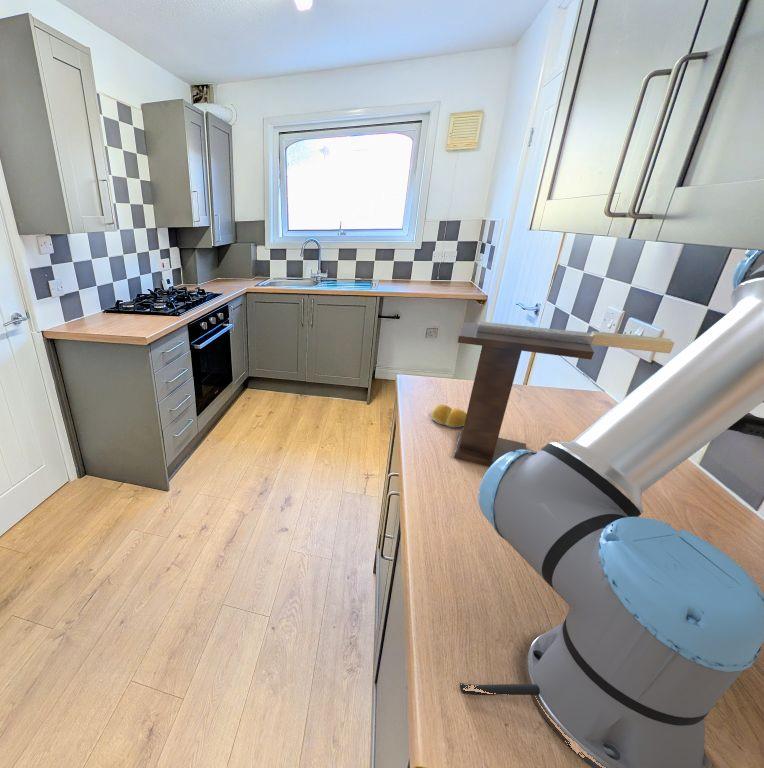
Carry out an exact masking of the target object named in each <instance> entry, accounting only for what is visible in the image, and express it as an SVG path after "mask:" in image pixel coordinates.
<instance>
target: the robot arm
mask: <svg viewBox="0 0 764 768" xmlns="http://www.w3.org/2000/svg"><path fill="white" fill-rule="evenodd" d="M744 255H745V258H744V259H743V260H741V261H739V262H738V263H737V265H736V268H735V270H734V273H733V277H732V287H733V290H732V291H731V294H730V302H731V305H732V309H731V310H730V311H729V312H728V313H726V314H724V316H723V317H721V318H720V319H719V320H718V321H717V322H715V323H714V324H713V325H711V326H710V327H709V328H708V329H707V330H706V331H704V332H703V333H702V334H701V335H699V336H698V337H697V338H696V339H695V340H693V341H692V342H691V343H690V344H688V345H687V346H686V347H685V348H684V349H682V350H681V351H680V352H679V353H678V354H676V355H675V356H674V357H673V358H672V359H670V360H669V361H668V362H666V364H664V365H663V366H662V367H660V368H659V369H658V370H657V371H656V372H654V373H653V374H652V375H651V376H650V377H648V378H647V379H646V380H645V381H643V382H642V383H640V385H638V387H636V388H634V390H632V391H631V392H630V393H629V394H628V395H626V396H625V397H624V398H623V399H622V400H620V401H619V402H617V404H615V405H614V406H613V407H612V408H611V409H609V410H608V411H607V412H605V413H604V414H603V415H602V416H601V417H600V418H598V419H597V420H596V421H595V422H593V424H591V425H590V426H589V427H587V429H585V430H584V431H583V432H581V433H580V434H579V435H578V436H577V437H575V438H574V439H573V440H571V441H550V442H549V443H547V444H546V445H545V446H543V447H542V448H541V449H540V450H538V451H537V452H536V451H534V450H529V449H527V450H525V449H521V450H516V452H509V453H507V454H505V455H503V456H501V457H500V458H499V459H497V460H496V461H495V462H494V463H493V464H492V465H491V466H490V467H488V469H487V470H486V471H485V473H484V475H483V477H482V478H481V480H480V484H479V487H478V491H479V493H478V496H477V498H478V499H477V500H478V506H479V510H480V511H481V514H482V515H483V516H484V518H485V519H486V520H487V521H488V522H489V523H490V525H491V526H492V527H493V528H494V531H495V532H496V533H497V535H498V536H500V538H502V539H503V540H504V541H506V542H507V543H508V544H509V545H510V546H511V548H512V549H514V550H515V551H516V553H518V555H519V556H520V557H522V559H523V560H524V561H525V562H526V563H527V564H528V565H529V566H530V567H531V568H532V569H533V570H534V571H535V572H536V573H537V574H538V575H539V576H540V577H541V578H542V580H544V582H546V583H547V585H549V586H550V587H551V588H552V589H553V590H554V592H555V593H556V594H557V595H558V596H559V597H560V598H561V599H562V600H563V601H564V602H565V603H566V605H567V606H568V607H569V609H568V611H567V614H566V617H565V618H564V621H563V622H561V623H560V624H558V625H556V626H555V627H553V628H551V629H549V630H547V631H546V632H544V633H542V634H541V635H539V636H538V637H537V638H536V639H534V640H533V641H532V643H531V645H530V648H529V650H528V652H527V655H526V657H525V660H524V677H525V678H524V679H525V682H526V683H501V684H500V683H499V684H497V683H496V684H471V683H467V684H468V685H469V686H471V685H474V687H475V685H476V687H475V688H474V689H476V688H477V689H479V690H480V689H481V690H483V691H484V692H485V691H486V692H489V693H493V694H487V693H481V692H475V691H465V690H463V688H465V687H466V686H467V687H466V688H467V689H468V685H464V684H465V683H462V682H460V683H459V689H460V692H461V694H463V695H469V696H470V695H471V696H495V695H494V693H496V694H507V695H506V696H531V698H532V700H533V703H534V705H536V708H537V709H538V711H539V713H540V715H541V716H542V718H543V719H544V720H545V721H546V723H547V724H548V726H549V727H550V728H551V729H552V731H553V732H554V733H555V734H556V735H557V736H558V737H559V738H560V740H561V741H562V742H563V743H564V744H565V745H567V744H568V745H569V744H570V742H569V741H568V740H567V739H566V738H565V737H564V736H563V735H562V733H561V732H560V731H559V730H558V729H557V728H556V727H555V725H554V724H553V723H552V722H551V721H550V719H549V718H548V717H547V715H546V714H545V712H546V713H547V714H548V715H549V717H550V718H551V719H552V720H553V721H554V722H555V723H556V724H557V726H558V727H560V729H561V730H562V731H563V732H564V734H565V735H567V736H568V737H569V738H571V739H572V740H573V741H575V742H576V743H577V744H578V745H579V746H580V747H581V748H582V749H583V750H584V751H586V752H587V754H588V755H590V756H591V757H593V759H595V760H596V762H598V763H600V764H601V765H602V766H604V767H606V768H711V767H712V766H713V763H712V762H711V760H710V758H708V756H707V755H706V749H705V733H706V732H705V729H706V728H705V718H706V716H707V715H708V714H709V713H710V712H711V711H712V709H713V708H714V707H715V706H716V705H717V703H718V702H719V701H720V700H721V699H722V697H723V696H724V695H725V694H726V692H727V691H728V690H729V689H730V688H731V687H732V685H733V684H734V683H735V682H736V680H738V678H739V677H740V675H742V673H743V672H744V670H747V669H749V668H750V667H752V666H753V665H754V662H756V661H757V660H758V659H759V657H758V656H759V654H761V651H762V646H763V644H764V592H763V590H762V589H761V588H760V586H759V585H758V583H757V582H756V581H755V579H753V577H752V576H751V575H750V574H749V573H748V572H747V571H746V570H745V569H744V568H743V567H742V565H739V564H738V563H737V562H736V561H735V560H734V559H732V558H731V557H730V556H729V555H727V554H726V553H725V552H724V551H722V550H721V549H719V548H718V547H716V546H714V545H713V544H712V543H710V542H708V541H707V540H705V539H703V538H701V537H700V536H697V535H696V534H694V533H692V532H690V531H688V530H685V529H680V530H677V529H675V528H674V527H673V526H672V525H671V524H670V523H668V522H665V521H662V520H657V519H654V518H649V517H642V516H641V515H642V514H643V513H644V507H643V502H642V496H643V493H644V492H646V491H647V490H648V489H649V488H650V487H652V486H654V485H655V484H656V483H658V482H659V481H660V480H661V479H662V478H664V477H666V476H667V475H668V474H669V473H670V472H673V470H675V469H676V468H677V467H678V466H680V465H682V464H683V463H684V462H685V461H687V460H688V459H689V458H691V457H692V456H693V455H695V454H696V453H697V452H698V451H700V450H701V449H703V448H704V447H705V446H707V445H708V444H710V442H712V441H713V440H715V439H716V438H718V436H720V435H721V434H723V432H725V431H726V430H727V431H732V432H738V433H741V434H744V435H749V436H754V437H759V438H762V439H763V440H764V417H760V416H756V415H755V416H754V415H749V413H750V412H752V411H754V409H755V408H757V407H758V406H759V405H761V404H762V403H764V251H758V250H748V249H747V250H746V251H745V253H744ZM461 684H462V685H461ZM477 685H478V686H477ZM466 688H465V689H466ZM469 688H470V687H469ZM508 694H509V695H508ZM535 696H536V697H535ZM536 698H537V699H536ZM537 700H538V701H539V703H540V705H541V706H542V707H543V709H544V710H545V712H544V711H543V709H542V708H541V706H540V705H539V703H538V701H537ZM565 741H566V742H567V743H566V742H565ZM568 742H569V743H568ZM568 745H567V746H568ZM570 745H571V744H570ZM570 745H569V746H570ZM569 746H568V747H569ZM570 747H571V746H570ZM570 747H569V748H570ZM579 753H580V752H579ZM579 753H578V754H579ZM581 753H582V752H581ZM581 753H580V754H581ZM582 754H583V753H582ZM582 754H581V755H582ZM583 755H584V754H583ZM584 756H585V755H584ZM582 760H583V761H584V762H586V763H587V764H588V765H590V766H591V767H592V768H602V767H600V766H599V765H597V764H596V763H595V762H593V761H592V760H591V759H589V758H588V757H586V756H585V757H584V758H583V759H582Z"/></svg>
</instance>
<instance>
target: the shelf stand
mask: <svg viewBox="0 0 764 768" xmlns="http://www.w3.org/2000/svg"><path fill="white" fill-rule="evenodd" d="M478 325H479V322H478V323H477V322H468V321H465V322H464V323H463V324H462V327H461V329H460V332H459V335H458V338H457V343H458V344H466V345H474V346H481V349H480V352H479V357H478V362H477V365H476V371H475V375H474V380H473V384H472V388H471V393H470V396H469V402H468V406H467V411H466V419H465V423H464V426H463V428H461V429H460V431H459V435H458V440H457V444H456V448H455V452H454V456H453V458H454V459H458V460H461V461H466V462H470V463H474V464H476V465H480V466H485V467H488V468H490V466H491V465H492V464H493V463H494V462H495V461H496V460H497V459H499V458H500V457H501V456H503V455H505V454H507V453H509V452H516V450H521V449H525V450H528V449H527V443H525V442H522V441H521V442H520V441H515V440H512V439H507V438H502V437H499V436H500V432H501V429H502V425H503V421H504V417H505V414H506V410H507V406H508V403H509V399H510V395H511V392H512V388H513V384H514V381H515V377H516V373H517V369H518V366H519V363H520V358H521V354H522V352H528V353H536V354H543V355H552V356H560V357H568V358H574V359H575V358H576V359H581V360H582V359H583V360H590V361H591V360H592V359H593V357H594V354H595V351H594V349H593V346H592V345H591V344H590V345H589V344H580V343H571V342H562V341H553V340H545V339H536V338H527V337H518V336H509V335H500V334H491V333H483V332H477V329H478Z"/></svg>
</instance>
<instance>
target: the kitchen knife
mask: <svg viewBox="0 0 764 768" xmlns="http://www.w3.org/2000/svg"><path fill="white" fill-rule="evenodd" d="M478 324H479V325H478V329H477V332H483V333H491V334H500V335H509V336H518V337H527V338H536V339H545V340H553V341H562V342H571V343H580V344H589V345H591V346H600V347H608V348H609V347H610V348H617V349H627V350H635V351H643V352H653V353H662V354H671V352H672V350H673V348H674V345H675V342H674V341H673V340H672V339H671V338H665V337H656V336H648V335H647V336H645V335H638V334H637V335H636V334H625V333H617V332H616V333H615V332H606V331H595V330H592V331H591V332H587V331H586V332H585V331H577V330H576V331H575V330H569V329H568V330H566V329H556V328H547V327H546V328H545V327H536V326H528V325H527V326H526V325H517V324H509V323H508V324H507V323H498V322H487V321H478Z"/></svg>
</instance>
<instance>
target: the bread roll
mask: <svg viewBox="0 0 764 768" xmlns="http://www.w3.org/2000/svg"><path fill="white" fill-rule="evenodd" d="M466 414H467V412H465V411H464V410H462V409H460V408H459V407H458V408H457V407H453V408H452V407H450V406H449V405H447V404H445V403H443V404H438V405H436V406H435V407H433V409H432V410H431V411H430V415H429V417H430V419H431V420H432V421H433V422H435V423H436V424H439V425H443V426H447V427H449V428H455V429H456V428H461V427H464V423H465V419H466Z"/></svg>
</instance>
